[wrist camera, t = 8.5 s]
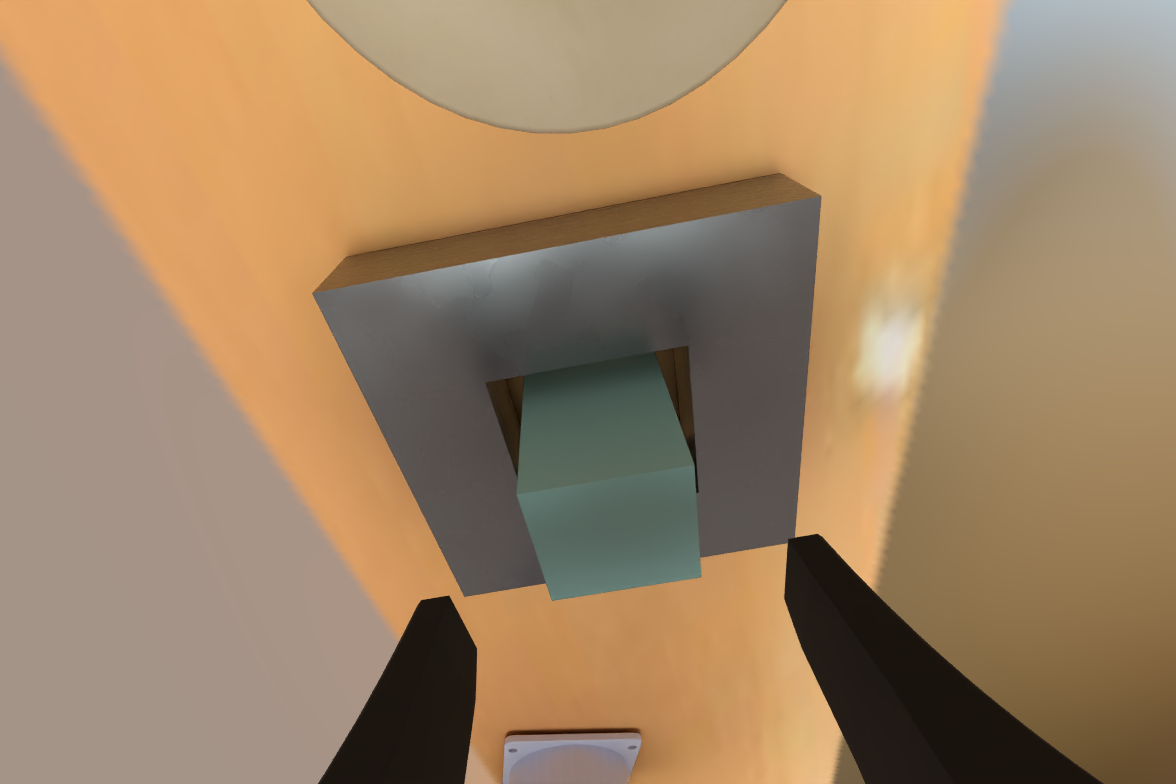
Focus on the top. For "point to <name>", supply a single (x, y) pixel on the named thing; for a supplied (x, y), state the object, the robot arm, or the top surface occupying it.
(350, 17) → the candle
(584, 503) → the peg block
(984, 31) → the top surface
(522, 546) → the square hole plate
